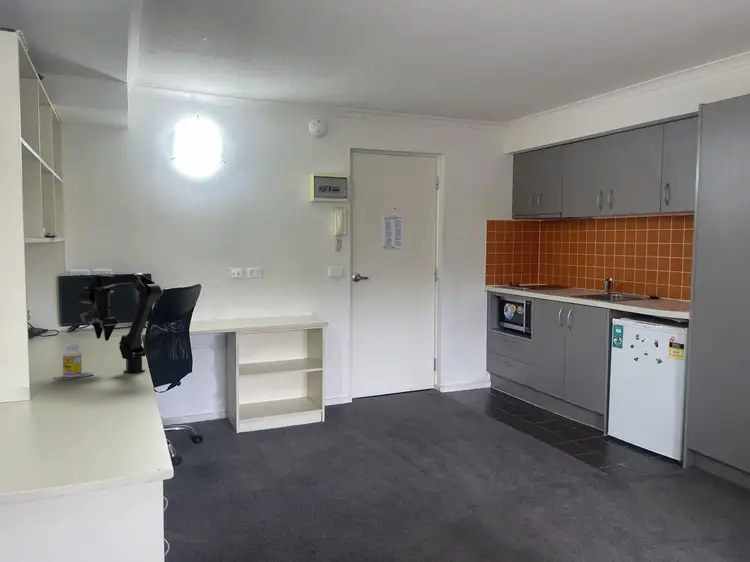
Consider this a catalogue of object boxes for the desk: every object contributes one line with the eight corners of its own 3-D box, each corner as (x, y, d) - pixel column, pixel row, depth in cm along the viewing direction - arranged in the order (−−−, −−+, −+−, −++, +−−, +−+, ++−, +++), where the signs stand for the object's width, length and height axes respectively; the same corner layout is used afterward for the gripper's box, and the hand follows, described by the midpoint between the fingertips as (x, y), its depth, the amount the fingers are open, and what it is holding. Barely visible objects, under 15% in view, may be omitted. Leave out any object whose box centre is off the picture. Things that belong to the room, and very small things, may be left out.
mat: (93, 375, 230) (93, 374, 230) (64, 380, 219) (64, 379, 219) (81, 373, 234) (81, 372, 234) (53, 378, 223) (53, 377, 223)
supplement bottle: (59, 376, 225) (59, 345, 224) (74, 374, 231) (74, 343, 230) (69, 378, 222) (69, 346, 221) (85, 375, 227) (85, 344, 227)
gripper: (74, 303, 243) (74, 339, 243) (90, 306, 230) (90, 343, 230) (101, 302, 251) (101, 336, 251) (118, 304, 238) (118, 341, 238)
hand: (102, 339), depth 242 cm, fingers open, 9 cm apart
